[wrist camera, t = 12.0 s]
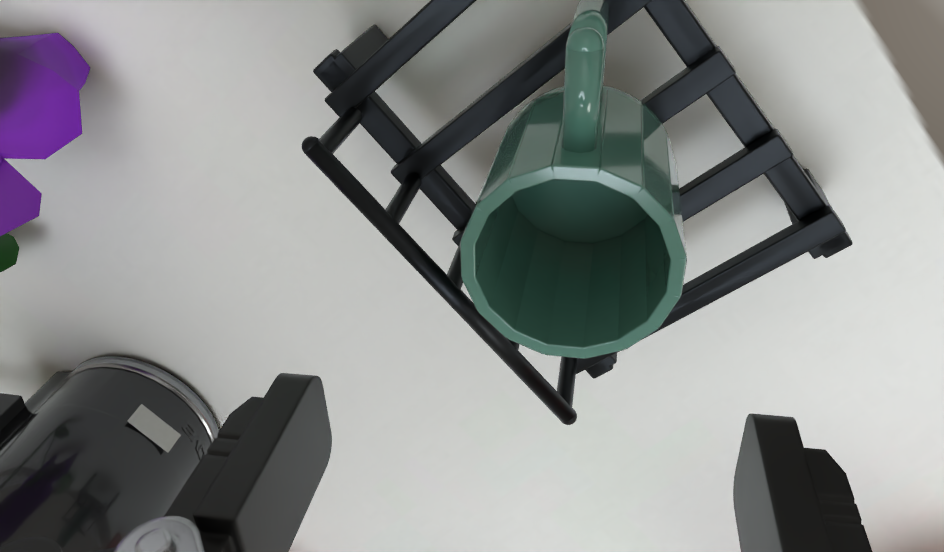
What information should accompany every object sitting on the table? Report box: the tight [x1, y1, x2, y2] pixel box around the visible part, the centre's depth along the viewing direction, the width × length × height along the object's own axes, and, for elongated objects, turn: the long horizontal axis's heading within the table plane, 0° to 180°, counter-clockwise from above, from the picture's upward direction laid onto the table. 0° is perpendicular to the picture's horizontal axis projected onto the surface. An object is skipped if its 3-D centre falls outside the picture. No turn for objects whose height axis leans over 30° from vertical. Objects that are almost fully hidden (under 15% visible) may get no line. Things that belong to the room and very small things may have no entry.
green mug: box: [460, 0, 687, 359], centre depth 21 cm, size 9×6×6 cm, turn 1°
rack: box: [302, 0, 852, 425], centre depth 25 cm, size 16×11×8 cm
